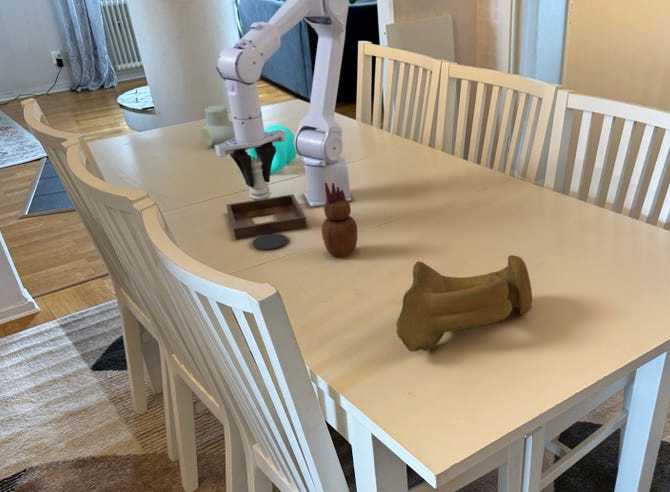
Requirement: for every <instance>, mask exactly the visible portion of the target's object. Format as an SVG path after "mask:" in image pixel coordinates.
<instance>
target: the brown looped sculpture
mask: <svg viewBox="0 0 670 492" xmlns="http://www.w3.org/2000/svg"><path fill="white" fill-rule="evenodd" d="M412 268H413V269H412V278H413V279H412V284H411V286H410V288H409V289H407V291H405V293H404V295H403V297H402V307H401V310H400V313H399V316H398V319H397V320H396V335H397V337H398V338H399V339H400V340H401V341H402V343H403V345H404V346H405V347H406V349H407V350H408V351H409V352H411V353H412V352H420V351H430V350H433V349H434V348H435V347H436V346H437V345H438V344H439V343H440V341H441V339H442V337H443V336H444V334H445V333H449V332H456V331H460V330H463V329H467V328H468V329H469V328H474V327H479V326H484V325H488V324H489V325H490V324H493V323H496V322H500V321H502V320H505V319H506V318H508V316H510V313H511V312H512V310H513V308H517V311H518V313H519V314H520V315H524V314H527V313H528V312H529V311H530V310H531V309H532V307H533V306H532V305H533V292H532V291H533V290H532V285H531V279H530V275H529V272H528V271H529V270H528V267H527V265H526V262H525V261H524V260H523V258H522V257H520V256H517V255H515V254H514V255H513V254H512V255H511V254H510V255H509V256H508V257H507V265H506V266H505V268H504V267H503V268H502V269H500V270H496V271H492V272H489V273H486V274H481V275H475V276H466V277H465V276H463V277H456V276H448V275H447V276H446V275H442V274H440V272H438V271H436V269H434V268H432V267H431V266H429V265H427V264H426V263H425V262H423V261H419V260H418V261H416V262H415V264H414V265H413V267H412Z"/></svg>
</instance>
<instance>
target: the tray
mask: <svg viewBox="0 0 670 492" xmlns="http://www.w3.org/2000/svg"><path fill="white" fill-rule="evenodd" d="M226 209H227V214H228V218H229V221H230V225H231V228H232V231H233V235H234V238H235V241H237V240H243V239H248V238H249V239H250V238H254V237H259V236H262V235H266V234H280V233H284V232H285V233H286V232H290V231H296V230H302V229H303V230H304V229H307V228H308V225H307V219H306V216H305V214H304V211H303V210H302V208H301V206H300V204H299V202H298V200H297V198H296V196H295V195H294V194H286V195H280V196H273V197H269V198H267V199H264V200H253V199H251V200H247V201H246V200H245V201H240V202H233V203H227V204H226ZM271 215H275V217H276V220H272V221H266V222H265V221H264V222H260V223H254V224H253V223H252V220H251V219H252V218H259V217H266V216H271Z"/></svg>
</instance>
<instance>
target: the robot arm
mask: <svg viewBox="0 0 670 492" xmlns="http://www.w3.org/2000/svg"><path fill="white" fill-rule="evenodd" d="M349 4H350V0H286V1H284V3H283V4H282V5H281V6H280V7H279V9H277V11H276V12H275V13H274V14H273V16H272V17H271V18H270V19H269V20H268V21H267V22H266V21H265V22H264V21H259V22H253V23H252V24H251V25H250V30H248V31H247V33H245V34H244V35H243V36H242V37H241V38H238V39H236V41H235V44H234V45H233V46H232V47H226V48H223V49H222V50H221V51H220V53H219V54H218V57H217V59H216V64H217V65H215V70H216V73H217V75H218V77H220V79H221V80H222V83H223V86H224V89H225V90H226V93H227V98H228V103H229V107H230V108H229V109H230V115H231V120H232V123H233V126H234V131H235V137H236V138H234V139H231V140H229V141H226V142H224V143H221V144H218V145H215V147H214V149H215V154H216V156H218V157H219V158H225V157H226V156H227V155H229V156H230V157H231V158H232V160H233V161H234V163H235V164H236V165H237V167H238V169H239V170H240V172H241V175H242V177H243V179H244V181H245V184H246V186H248V187H249V188H250V187H253V186H254V180H253V175H252V168H251V158H252V156H250V155H249V153H248V151H249V149H252V148H255V151H256V154H257V157H259V158H260V159H261V161H262V162H263V164H262V166H261V168H262V169H263V171H262V173H263V177H264V181H265V183H267V184H268V183H270V182H271V174H270V171H271V165H272V161H273V158H274V155H275V153H276V147H275V146H273V144H272V143H276V142H280V141H281V142H284V141H286V133H285V131H283V130H276V131H269V132H264V130H265V126H264V120H263V113H262V107H261V102H260V96H259V87H258V80H259V79H260V77H261V75H262V70H263V67H264V66H265V63H266V62H267V61H269V59H271V57H272V56H273V55H274V54H275V53H276V52H277V51H278V50H279V49H280V48H281V42H282V41H281V38H282V37H283V36H285V35H286V34H287V33H288V32H289V31H291V30H292V29H293V28H294V27H295V26H296V25H297V24H299V23H300V22H301V21H302V20H304V21H305V22H307V23H308V25H310V27H311V28H312V29H314V31H315V33H316V34H317V36H318V37H317V38H318V39H317V47H316V54H315V63H314V70H313V78H312V85H311V93H310V101H309V108H308V114H307V115H305V116H304V117H303V118H301V119H300V120H299V123H298V129H297V131H296V133H295V134H294V136H295V138H294V148H295V151H296V153H297V155H298V156H299V157H300V160H301V162H303V165H304V173H305V182H306V190H307V192H304V194H303V195H304V197H305V199H306V201H307V203H308V205H309V206H310V207H311V208H314V207H319V206H324V205H325V203H326V191H325V182H326V183H327V185H328V188H329V190H330V193H331V191H332V183H334V186H335V190H336V191H337V187H339V190H340V191H341V190H343V192H344V195H345V199H346V200H347V201H348V202H351V201H352V198H351V189H350V180H349V179H350V177H349V170H348V165H347V162H346V159H345V157H341V156H342V153H343V138H342V135H343V128H342V127H341V125H339V123H338V122H337V120H336V119H335V113H336V112H335V111H336V105H337V98H338V97H337V96H338V89H339V83H340V77H341V76H340V75H341V67H342V60H343V55H344V47H345V41H346V28H347V27H346V26H347V21H348V20H347V19H348V18H347V17H348V13H349ZM317 129H319V130H317ZM320 129H321V130H322V131H321V130H320ZM247 150H248V151H247Z"/></svg>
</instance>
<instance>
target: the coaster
mask: <svg viewBox="0 0 670 492" xmlns="http://www.w3.org/2000/svg"><path fill="white" fill-rule="evenodd" d="M287 244H288V237H287V236H285V235H284V234H281V233H273V234H266V235H261V236H256V238H254V239H253V241H252V246H253V247H254V248H255V249H256V250H259V251H274V250H277V249H280V248H283V247H284V246H286V245H287Z"/></svg>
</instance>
